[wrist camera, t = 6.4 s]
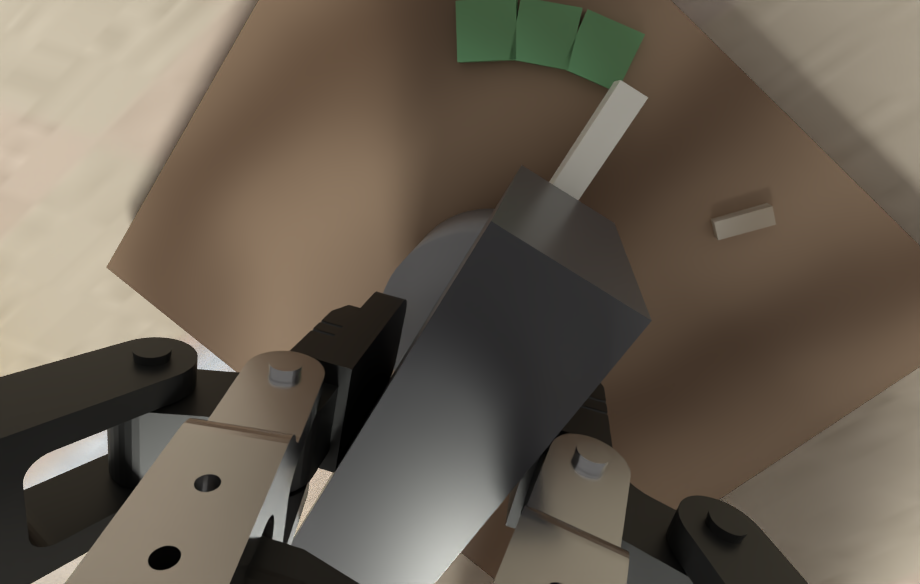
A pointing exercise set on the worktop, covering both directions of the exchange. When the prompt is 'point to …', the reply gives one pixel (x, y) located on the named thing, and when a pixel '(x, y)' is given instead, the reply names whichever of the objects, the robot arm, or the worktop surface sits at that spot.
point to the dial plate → (542, 151)
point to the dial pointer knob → (483, 366)
